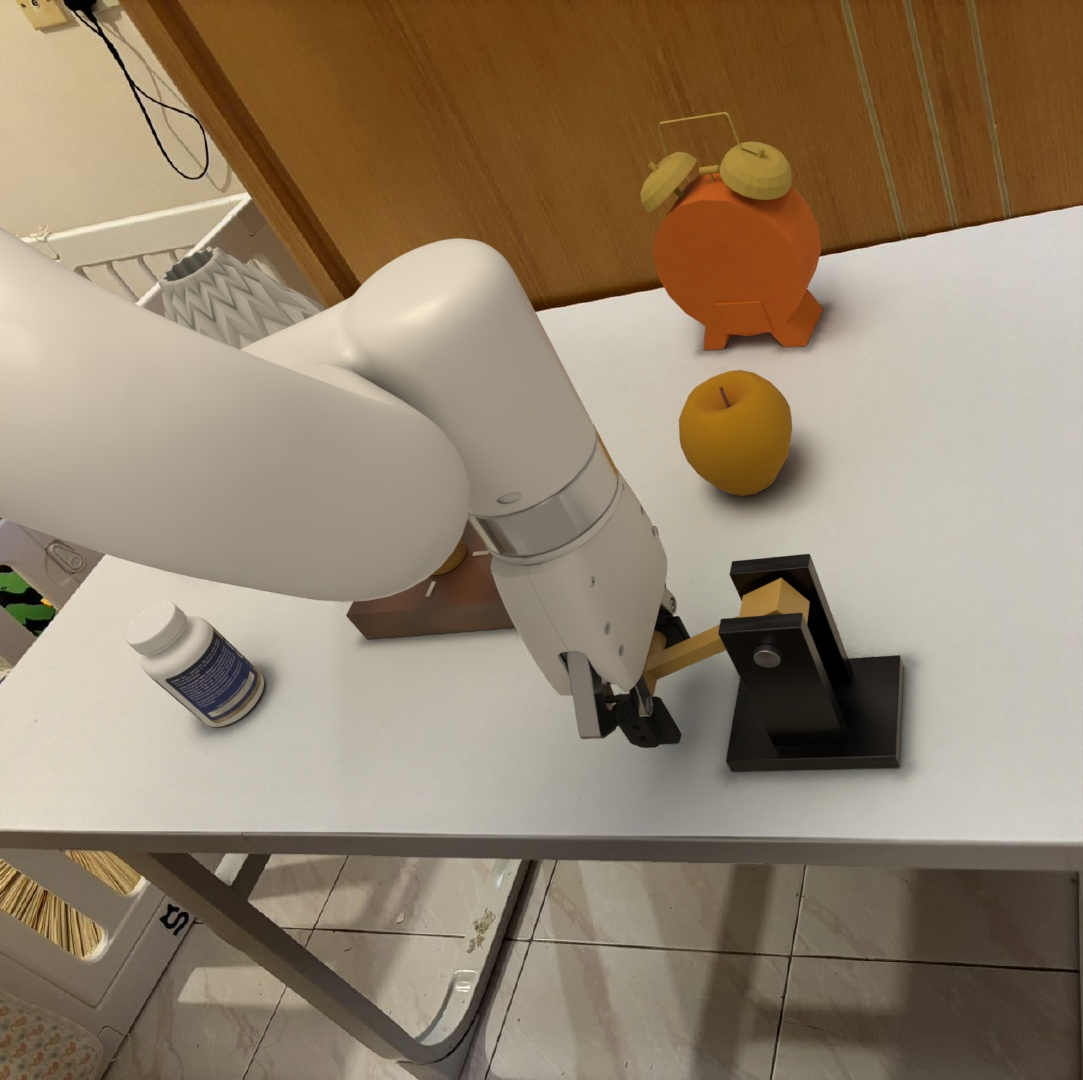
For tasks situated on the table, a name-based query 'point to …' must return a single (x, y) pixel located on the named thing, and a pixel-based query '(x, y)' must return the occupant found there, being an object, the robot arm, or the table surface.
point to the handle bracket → (806, 684)
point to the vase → (230, 299)
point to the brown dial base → (439, 601)
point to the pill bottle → (194, 664)
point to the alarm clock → (736, 244)
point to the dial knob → (453, 559)
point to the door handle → (708, 643)
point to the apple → (736, 431)
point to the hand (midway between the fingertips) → (665, 697)
